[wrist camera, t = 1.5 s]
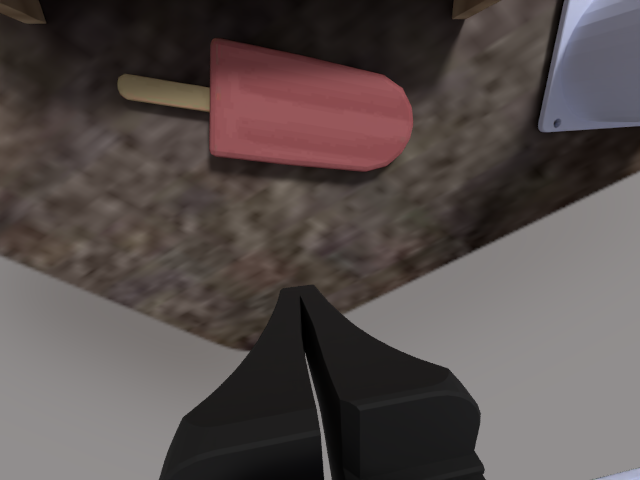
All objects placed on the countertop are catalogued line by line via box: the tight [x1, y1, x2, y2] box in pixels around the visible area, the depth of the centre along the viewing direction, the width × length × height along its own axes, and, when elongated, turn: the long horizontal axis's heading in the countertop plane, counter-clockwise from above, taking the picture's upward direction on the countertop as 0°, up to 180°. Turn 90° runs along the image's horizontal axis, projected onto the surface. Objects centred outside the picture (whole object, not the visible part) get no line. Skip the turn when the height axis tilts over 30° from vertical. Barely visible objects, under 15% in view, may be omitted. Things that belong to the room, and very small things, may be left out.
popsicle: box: [117, 38, 413, 172], centre depth 15 cm, size 5×2×15 cm
